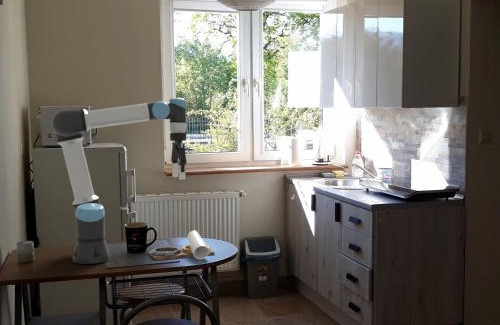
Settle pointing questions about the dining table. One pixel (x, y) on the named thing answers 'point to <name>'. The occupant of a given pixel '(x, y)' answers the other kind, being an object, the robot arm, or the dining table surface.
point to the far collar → (189, 249)
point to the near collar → (174, 250)
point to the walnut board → (181, 255)
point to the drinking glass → (197, 245)
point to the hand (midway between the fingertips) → (178, 178)
